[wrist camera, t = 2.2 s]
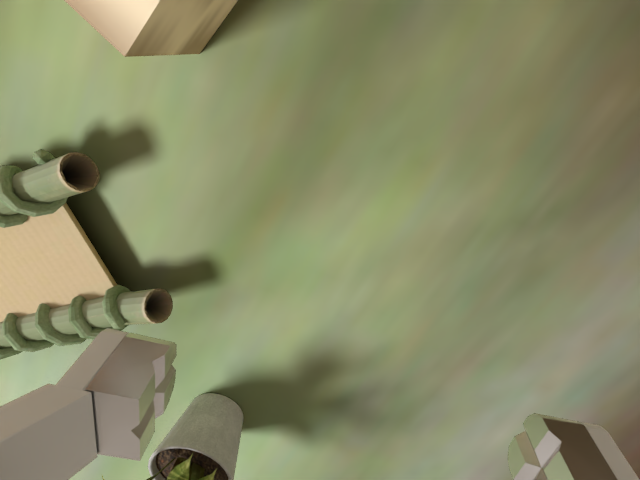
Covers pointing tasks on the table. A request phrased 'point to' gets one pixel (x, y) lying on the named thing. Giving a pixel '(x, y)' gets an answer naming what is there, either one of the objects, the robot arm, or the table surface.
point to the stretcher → (58, 263)
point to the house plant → (200, 442)
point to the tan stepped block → (155, 23)
